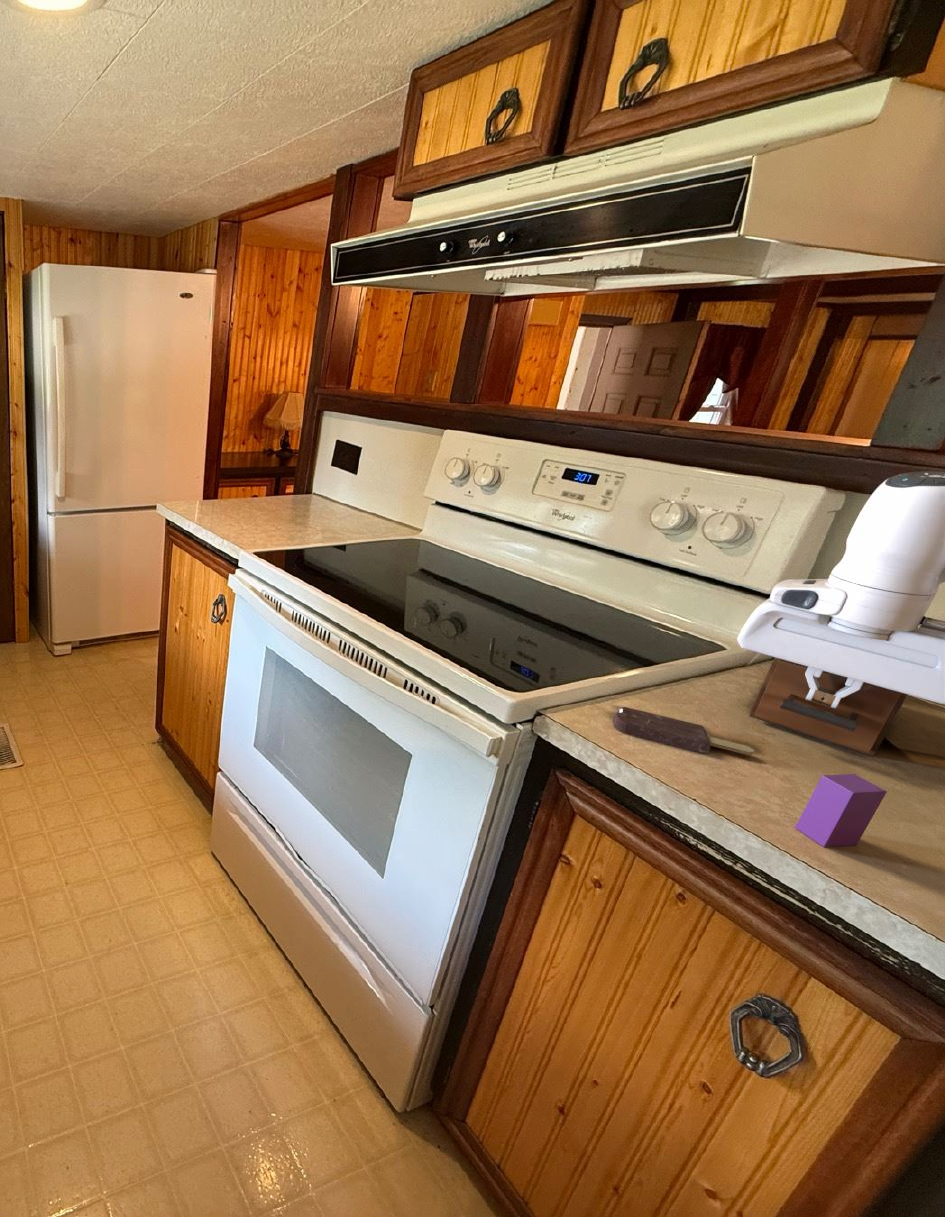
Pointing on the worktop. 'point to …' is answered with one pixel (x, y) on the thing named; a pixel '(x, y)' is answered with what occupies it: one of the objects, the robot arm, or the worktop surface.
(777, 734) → the worktop surface
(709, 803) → the worktop surface
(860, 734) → the drawer
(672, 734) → the ice cream bar
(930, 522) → the robot arm
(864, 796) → the snack box
